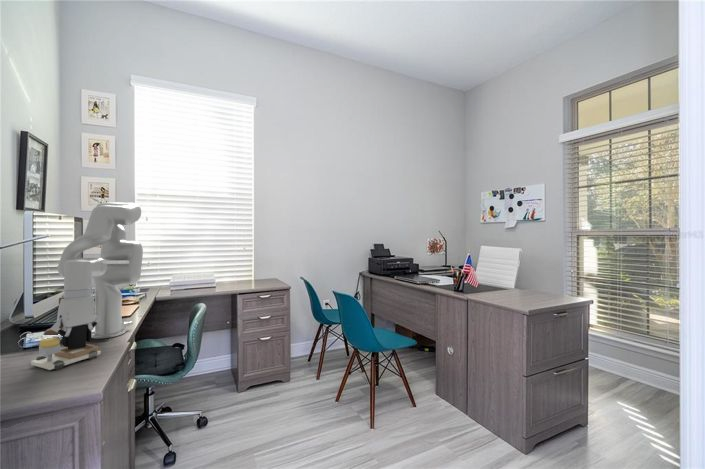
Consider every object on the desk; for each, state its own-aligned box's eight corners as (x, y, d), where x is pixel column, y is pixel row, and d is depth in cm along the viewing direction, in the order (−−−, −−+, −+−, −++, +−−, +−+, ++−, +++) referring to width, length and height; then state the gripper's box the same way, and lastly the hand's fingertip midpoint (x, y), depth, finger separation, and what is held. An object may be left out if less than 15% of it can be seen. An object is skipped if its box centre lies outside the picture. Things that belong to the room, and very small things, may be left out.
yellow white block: (54, 349, 111) (54, 336, 111) (63, 351, 109) (63, 338, 109) (36, 354, 107) (36, 340, 107) (44, 356, 105) (44, 342, 105)
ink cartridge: (86, 345, 118) (86, 323, 118) (85, 347, 116) (86, 325, 116) (68, 348, 115) (68, 326, 115) (67, 350, 113) (68, 327, 113)
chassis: (82, 352, 122) (82, 338, 122) (100, 356, 118) (100, 342, 118) (30, 367, 108) (31, 352, 108) (49, 372, 104) (50, 357, 104)
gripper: (97, 289, 125) (97, 336, 125) (41, 297, 109) (41, 350, 109) (110, 290, 122) (109, 338, 122) (54, 299, 106) (54, 353, 106)
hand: (77, 343), depth 115 cm, fingers closed on ink cartridge, 5 cm apart
